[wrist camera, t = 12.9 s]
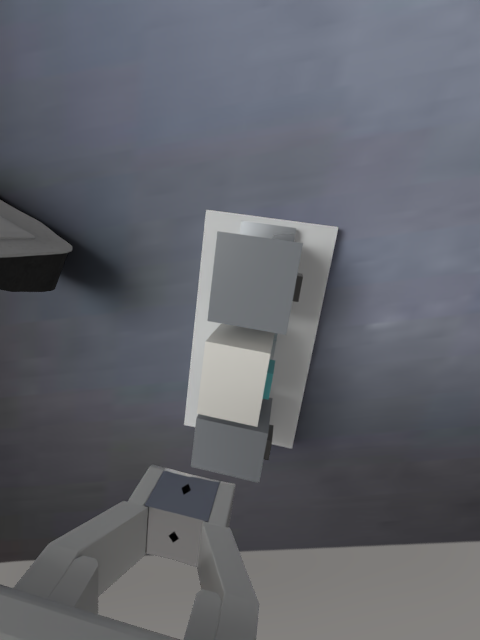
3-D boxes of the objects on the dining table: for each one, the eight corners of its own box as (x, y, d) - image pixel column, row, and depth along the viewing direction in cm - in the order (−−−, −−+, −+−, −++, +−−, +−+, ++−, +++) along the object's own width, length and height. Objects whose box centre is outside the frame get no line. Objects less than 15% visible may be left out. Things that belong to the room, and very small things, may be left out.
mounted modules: (232, 233, 23) (217, 231, 18) (306, 244, 22) (310, 244, 18) (208, 427, 27) (190, 466, 22) (269, 440, 27) (264, 484, 22)
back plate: (209, 211, 25) (206, 209, 24) (336, 227, 24) (338, 227, 23) (187, 418, 30) (184, 424, 29) (292, 441, 28) (292, 448, 27)
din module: (225, 318, 25) (205, 341, 19) (280, 328, 24) (277, 354, 18) (217, 375, 26) (196, 413, 20) (269, 386, 25) (263, 428, 20)
